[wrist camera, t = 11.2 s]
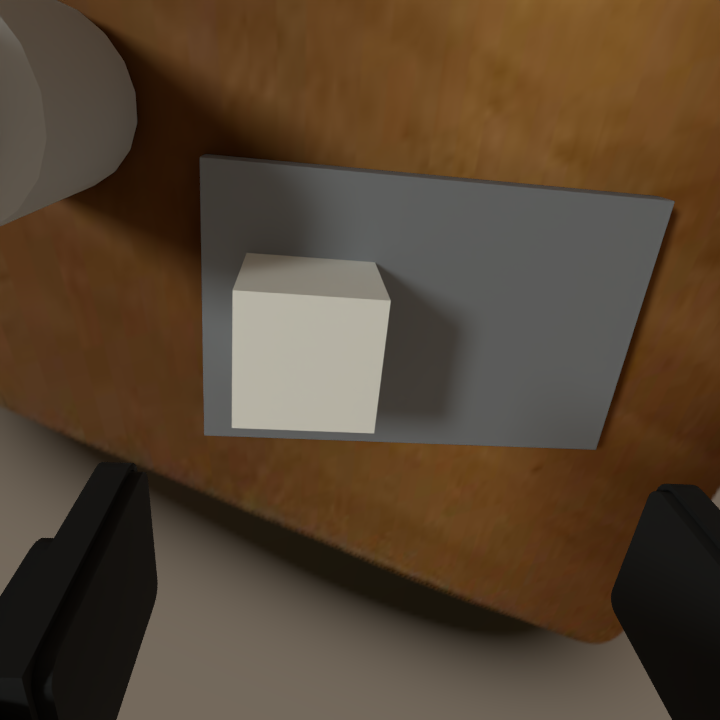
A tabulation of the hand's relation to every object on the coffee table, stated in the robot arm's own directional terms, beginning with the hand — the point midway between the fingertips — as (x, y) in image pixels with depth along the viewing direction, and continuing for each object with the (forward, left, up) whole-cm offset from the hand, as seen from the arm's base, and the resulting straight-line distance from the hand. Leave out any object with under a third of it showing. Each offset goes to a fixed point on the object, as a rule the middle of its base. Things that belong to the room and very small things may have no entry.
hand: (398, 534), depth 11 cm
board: (-3, +4, -20) cm, 20 cm away
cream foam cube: (+3, +2, -18) cm, 18 cm away
